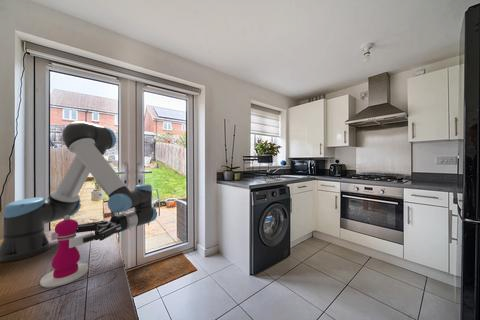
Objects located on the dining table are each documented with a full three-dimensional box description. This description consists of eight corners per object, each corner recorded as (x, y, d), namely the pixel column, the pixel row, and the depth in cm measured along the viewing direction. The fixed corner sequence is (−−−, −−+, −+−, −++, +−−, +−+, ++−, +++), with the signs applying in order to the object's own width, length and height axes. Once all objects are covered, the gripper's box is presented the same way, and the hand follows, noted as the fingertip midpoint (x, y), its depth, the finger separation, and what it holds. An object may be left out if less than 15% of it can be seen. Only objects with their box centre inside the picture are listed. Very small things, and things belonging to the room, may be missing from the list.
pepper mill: (54, 282, 58) (56, 219, 59) (48, 275, 62) (49, 216, 62) (83, 270, 64) (84, 214, 65) (75, 264, 68) (76, 211, 69)
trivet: (33, 281, 60) (33, 278, 60) (78, 263, 71) (78, 260, 71) (49, 292, 55) (49, 288, 55) (95, 271, 66) (95, 268, 66)
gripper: (141, 235, 75) (78, 259, 56) (107, 226, 86) (44, 244, 67) (141, 216, 75) (78, 234, 56) (107, 210, 86) (45, 223, 67)
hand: (59, 240), depth 62 cm, fingers open, 13 cm apart
